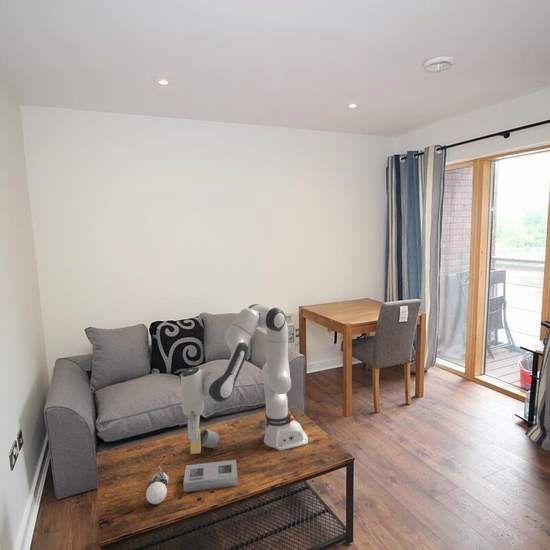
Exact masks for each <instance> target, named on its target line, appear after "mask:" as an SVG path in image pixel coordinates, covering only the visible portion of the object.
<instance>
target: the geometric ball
mask: <svg viewBox="0 0 550 550" xmlns="http://www.w3.org/2000/svg"><path fill="white" fill-rule="evenodd" d="M167 492H168V489H167V486H166V484H163V483H162V482H154V483H153V484H151V483H150V485H149V486H148V487H147V489H146V493H145V497H146V499H147V502H149V503H150V504H152V505H159V504H160V503H162V502H163V501H164V500H165V499H166V497H167Z"/></svg>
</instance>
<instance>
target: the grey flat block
mask: <svg viewBox="0 0 550 550" xmlns="http://www.w3.org/2000/svg"><path fill="white" fill-rule="evenodd" d="M237 468H238V467H237V460H236V459H232V460H221V461H215V462H214V461H213V462H205V463H196V464H187V465H185V470H184V477H183V493H188V492H197V491H204V490H212V489H220V488H228V487H229V488H230V487H235V486H237V487H238V486H239V485H238V484H239V483H238V469H237Z"/></svg>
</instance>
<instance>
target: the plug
mask: <svg viewBox="0 0 550 550" xmlns="http://www.w3.org/2000/svg"><path fill="white" fill-rule="evenodd" d="M200 433H201V428H200V427H199V429H198V438H197V442H195V443H193V442H192V440H189V438H188V433H187V435H186V436H187V440H189V448H190V455H194V454H201V450H202V446H201V441H200Z"/></svg>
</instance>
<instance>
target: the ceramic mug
mask: <svg viewBox="0 0 550 550" xmlns="http://www.w3.org/2000/svg"><path fill="white" fill-rule="evenodd" d="M200 441H201V447H205V448H209V449H215V448H216V447H218V445H219V443H220V434H219V433H217V432H215V431H212V430H210V429H207V428H204V429H203V430H200Z"/></svg>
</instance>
